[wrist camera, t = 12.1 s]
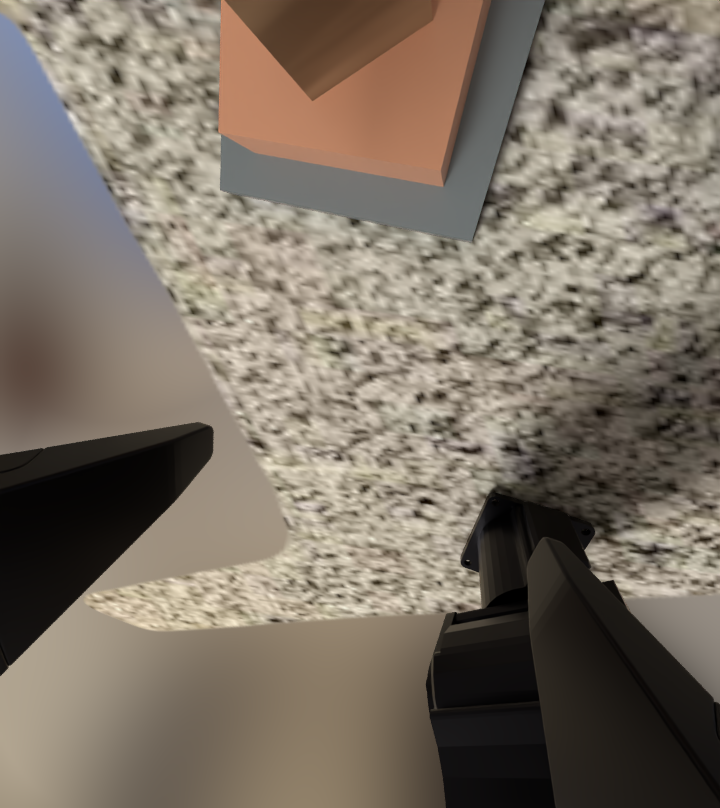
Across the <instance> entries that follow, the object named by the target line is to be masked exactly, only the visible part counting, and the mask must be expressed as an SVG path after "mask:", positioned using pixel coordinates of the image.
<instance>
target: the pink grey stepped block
mask: <svg viewBox="0 0 720 808" xmlns="http://www.w3.org/2000/svg"><path fill="white" fill-rule="evenodd" d="M544 1H545V0H431V5H432V15H433V21H431V22H430V23H428V24H427V25H425V26H424V27H422V28H421V29H419V30H418V31H416V32H415V33H413V34H412V35H410V36H409V37H407V38H406V39H404V40H403V41H401V42H400V43H399V44H397V45H396V46H394V47H393V48H391V49H390V50H388V51H387V52H385V53H384V54H382V55H381V56H379V57H378V58H376V59H375V60H373V61H372V62H370V63H369V64H367V65H366V66H364V67H363V68H361V69H360V70H358V71H357V72H355V73H354V74H352V75H351V76H349V77H348V78H346V79H345V80H343V81H342V82H341V83H339V84H338V85H336V86H335V87H333V88H332V89H330V90H329V91H327V92H326V93H324V94H323V95H321V96H320V97H318V98H317V99H315V100H314V101H312V100H311V99H310V98H309V97H308V96H307V95H306V93H305V92H304V91H303V90H302V89H301V88H300V87H299V85H298V84H297V83H296V82H295V81H294V80H293V79H292V77H291V76H290V75H289V74H288V73H287V72H286V70H285V69H284V68H283V67H282V66H281V65H280V64H279V62H278V61H277V60H276V59H275V58H274V57H273V56H272V54H271V53H270V52H269V51H268V50H267V49H266V47H265V46H264V45H263V44H262V43H261V42H260V41H259V39H258V38H257V37H256V36H255V35H254V34H253V33H252V31H251V30H250V29H249V28H248V27H247V26H246V24H245V23H244V22H243V21H242V20H241V19H240V18H239V16H238V15H237V14H236V13H235V12H234V11H233V10H232V8H231V7H230V6H229V5H228V4H227V3H226V1H225V0H221V37H220V87H219V133H221V173H220V190H221V191H224V192H227V193H230V194H235V195H240V196H245V197H250V198H255V199H259V200H264V201H269V202H274V203H279V204H284V205H289V206H294V207H298V208H303V209H308V210H313V211H318V212H323V213H328V214H333V215H338V216H342V217H347V218H352V219H357V220H362V221H367V222H372V223H377V224H381V225H386V226H391V227H396V228H401V229H406V230H411V231H416V232H421V233H425V234H430V235H435V236H440V237H445V238H450V239H455V240H460V241H464V242H469V243H471V242H472V239H473V236H474V232H475V229H476V226H477V223H478V219H479V216H480V213H481V209H482V206H483V203H484V199H485V196H486V193H487V190H488V186H489V183H490V180H491V176H492V173H493V170H494V166H495V163H496V160H497V157H498V153H499V150H500V147H501V143H502V140H503V137H504V133H505V130H506V127H507V124H508V120H509V117H510V114H511V110H512V107H513V104H514V100H515V97H516V94H517V91H518V87H519V84H520V81H521V77H522V74H523V71H524V67H525V64H526V61H527V58H528V54H529V51H530V48H531V44H532V41H533V38H534V34H535V31H536V28H537V25H538V21H539V18H540V15H541V11H542V8H543V5H544Z"/></svg>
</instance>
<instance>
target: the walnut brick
mask: <svg viewBox="0 0 720 808" xmlns="http://www.w3.org/2000/svg"><path fill="white" fill-rule="evenodd" d="M225 1H226V3H227V4H228V5H229V6H230V7H231V8H232V10H233V11H234V12H235V13H236V14H237V15H238V16H239V18H240V19H241V20H242V21H243V22H244V23H245V24H246V26H247V27H248V28H249V29H250V30H251V31H252V33H253V34H254V35H255V36H256V37H257V38H258V39H259V41H260V42H261V43H262V44H263V45H264V46H265V47H266V49H267V50H268V51H269V52H270V53H271V54H272V56H273V57H274V58H275V59H276V60H277V61H278V62H279V64H280V65H281V66H282V67H283V68H284V69H285V70H286V72H287V73H288V74H289V75H290V76H291V77H292V79H293V80H294V81H295V82H296V83H297V84H298V85H299V87H300V88H301V89H302V90H303V91H304V92H305V93H306V95H307V96H308V97H309V98H310V99H311V100H312V101H314V100H315V99H317V98H318V97H320V96H321V95H323V94H324V93H326V92H327V91H329V90H330V89H332V88H333V87H335V86H336V85H338V84H339V83H341V82H342V81H343V80H345V79H346V78H348V77H349V76H351V75H352V74H354V73H355V72H357V71H358V70H360V69H361V68H363V67H364V66H366V65H367V64H369V63H370V62H372V61H373V60H375V59H376V58H378V57H379V56H381V55H382V54H384V53H385V52H387V51H388V50H390V49H391V48H393V47H394V46H396V45H397V44H399V43H400V42H401V41H403V40H404V39H406V38H407V37H409V36H410V35H412V34H413V33H415V32H416V31H418V30H419V29H421V28H422V27H424V26H425V25H427V24H428V23H430V22H431V21H433V15H432V5H431V0H225Z"/></svg>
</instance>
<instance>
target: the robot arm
mask: <svg viewBox="0 0 720 808" xmlns="http://www.w3.org/2000/svg"><path fill="white" fill-rule="evenodd" d="M213 433H214V432H213V428H212V427H211V426H209V425H206V424H203V423H200V422H196V423H190V424H184V425H178V426H172V427H166V428H160V429H154V430H148V431H142V432H136V433H130V434H125V435H118V436H112V437H107V438H100V439H95V440H88V441H82V442H76V443H71V444H65V445H59V446H52V447H47V448H45V449H43V448H40V449H34V450H28V451H23V452H16V453H10V454H3V455H0V676H1V675H2V674H3V673H4V672H5V671H6V670H7V669H8V667H9V666H10V665H12V664H13V663H14V662H15V661H16V660H17V659H18V658H19V657H20V656H21V655H22V654H23V653H24V652H25V651H26V650H27V649H28V648H29V646H31V645H32V643H34V642H35V641H36V640H37V639H38V638H39V637H40V636H41V635H42V634H43V633H44V632H45V631H46V630H47V629H48V628H49V627H50V626H51V625H52V624H53V623H54V622H55V621H56V620H57V619H58V618H59V617H60V616H61V615H62V614H63V613H64V612H65V611H66V610H67V609H68V608H69V607H70V606H71V605H72V604H73V603H74V602H75V601H76V600H77V599H78V598H79V597H80V596H81V595H82V594H83V593H84V592H85V591H86V590H87V589H88V588H89V587H90V586H91V585H92V584H93V583H94V582H95V581H96V580H97V579H98V578H99V577H100V576H101V575H102V574H103V573H104V572H105V571H106V570H107V569H108V568H109V567H110V566H111V565H112V564H113V563H114V562H115V561H116V560H117V559H118V558H119V557H120V556H121V555H122V554H123V553H124V552H125V551H126V550H127V549H128V548H129V547H130V546H131V545H132V544H133V543H134V542H135V541H136V540H137V539H138V538H139V537H140V536H141V535H142V534H143V533H144V532H145V531H146V530H147V529H148V528H149V527H150V526H151V525H152V524H153V523H154V522H155V521H156V520H157V519H158V518H159V517H160V516H161V515H162V514H163V513H164V512H165V511H166V510H167V509H168V508H169V507H170V506H171V505H172V504H173V503H174V502H175V501H176V500H177V498H178V497H179V496H180V495H181V494H182V493H183V491H184V490H185V489H186V488H187V487H188V485H189V484H190V483H191V482H192V481H193V479H194V478H195V477H196V476H197V474H198V473H199V472H200V471H201V469H202V468H203V467H204V466H205V465H206V463H207V462H208V461H209V460H210V458H211V456H212V453H213ZM493 500H498V502H493ZM583 529H588V530H586V531H582V530H583ZM594 535H595V529H594V528H593V526H592V524H591V523H589V522H587V521H584V520H581V519H577V518H574V517H571V516H568V514H566V513H563V512H560V511H557V510H554V509H551V508H548V507H544V506H541V505H538V504H535V503H532V502H529V501H526V502H524V501H521V500H518V499H515V498H512V497H509V496H505V495H502V494H499V493H491V494H489V495H488V496H487V499H486V501H485V503H484V505H483V508H482V510H481V512H480V514H479V517H478V519H477V521H476V523H475V525H474V528H473V530H472V532H471V534H470V537H469V539H468V541H467V543H466V546H465V548H464V550H463V552H462V555H461V565H462V566H463V567H465V568H468V569H471V570H473V571H476V572H479V576H480V590H481V604H482V609H478V610H473V611H468V612H463V613H458V614H457V613H456V612H452V613H447V614H446V617H445V620H444V623H443V626H442V629H441V632H440V635H439V639H438V641H437V644H436V647H435V650H434V653H433V657H432V660H431V663H430V666H429V670H428V677H427V680H426V689H427V698H428V706H429V712H430V719H431V724H432V727H433V731H434V735H435V739H436V743H437V746H438V752H439V757H440V763H441V769H442V775H443V782H444V792H445V800H446V808H720V704H719V703H717V702H714V699H713V697H712V696H711V695H710V694H709V693H708V692H707V691H706V690H705V689H704V688H703V687H702V685H701V684H700V683H698V681H697V680H696V679H695V678H694V677H693V676H692V675H691V674H690V673H689V672H688V671H687V670H686V669H685V668H684V667H683V666H682V665H681V664H680V663H679V662H678V661H677V660H676V659H675V658H674V657H673V656H672V655H671V653H670V652H669V651H667V649H666V648H665V647H664V646H663V645H662V644H661V643H660V642H659V641H658V640H657V639H656V638H655V637H654V636H653V635H652V634H651V633H650V632H649V631H648V630H647V629H646V628H645V627H644V626H643V625H642V624H641V623H640V622H639V620H638V619H637V618H636V617H635V616H634V615H633V614H632V613H631V611H630V609H629V608H628V606H627V604H626V602H625V600H624V598H623V597H622V595H621V593H620V591H619V589H618V587H617V585H616V584H615V582H614V580H611V581H606V582H601V581H600V580H599V579H598V578H597V577H596V576H595V575H594V574H593V573H592V572H591V571H590V568H591V564H590V562H589V560H588V557H587V555H586V553H585V551H584V550H585V549H586V547H587V546H588V544H589V542H590V541H591V539H592V538H593V536H594ZM466 560H470V561H466Z"/></svg>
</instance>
